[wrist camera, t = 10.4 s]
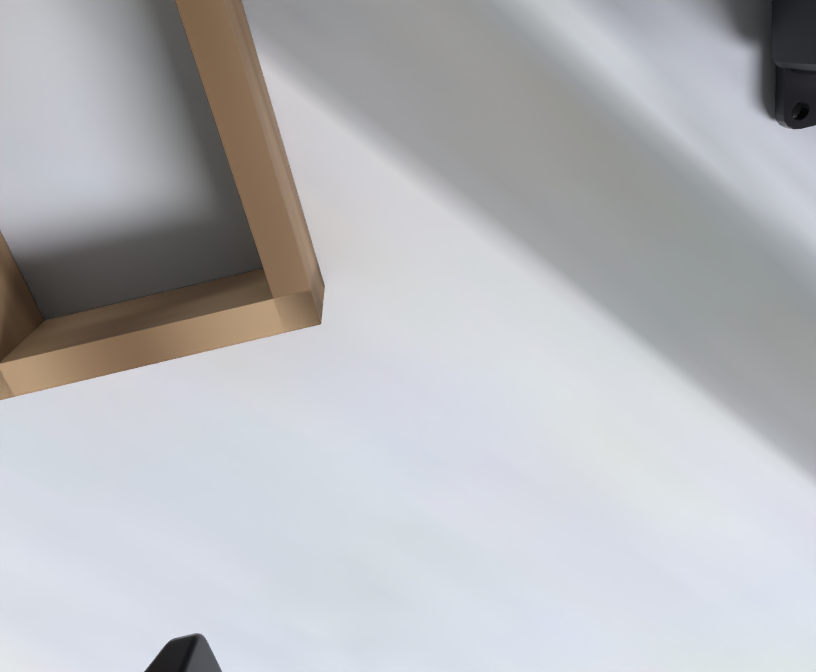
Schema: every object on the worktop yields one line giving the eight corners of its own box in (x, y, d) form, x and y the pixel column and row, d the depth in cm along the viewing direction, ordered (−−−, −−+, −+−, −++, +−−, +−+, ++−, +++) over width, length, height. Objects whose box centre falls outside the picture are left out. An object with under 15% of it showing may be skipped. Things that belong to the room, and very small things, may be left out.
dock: (147, -322, 15) (100, -406, 12) (324, 286, 21) (321, 324, 18) (-269, -216, 15) (-410, -274, 12) (27, 356, 21) (-21, 404, 18)
